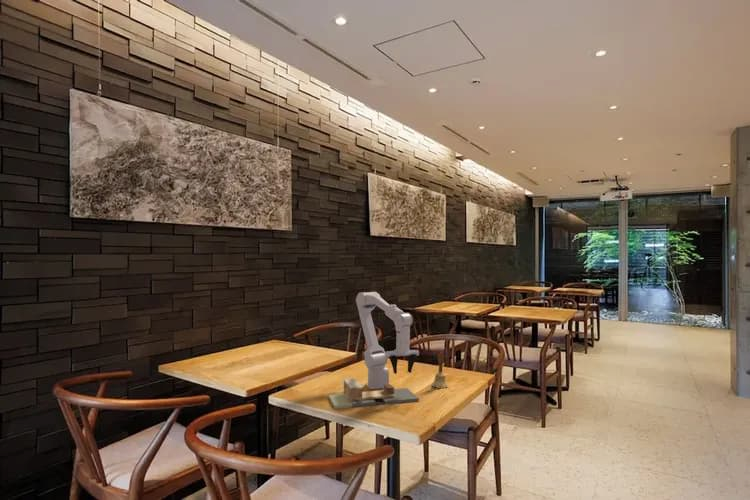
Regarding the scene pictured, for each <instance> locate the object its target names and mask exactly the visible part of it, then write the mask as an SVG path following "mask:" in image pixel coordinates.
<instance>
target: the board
mask: <svg viewBox="0 0 750 500" xmlns="http://www.w3.org/2000/svg"><path fill="white" fill-rule="evenodd" d="M381 390H382V389H375V391H381ZM363 392H368V391H366V390H365V391H364V390H363ZM394 395H395V397H389V398H377V399H365V400H362V403H360V402H359V400H354V401H353V403H350V401H349V400H348V399H347V398H346V396H345V395H344V392H343V393H342V392H340V393H329V394H327V396H328V397H327V398H328V400H329V402H330V403H331V405H332V406H333V408H334V409H335V410H338V409H347V408H350V409H351V408H358V407H368V406H369V407H370V406H380V405H381V406H382V405H383V406H384V405H391V404H393V405H394V404H402V403H403V404H405V403H413V402H419V401H420V399H419V397H418V396H417V395H416V394H415V393H413V392H412V391H411V390H410V389H409V388H407V387H405V388H404V387H403V388H394Z"/></svg>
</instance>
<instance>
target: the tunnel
mask: <svg viewBox="0 0 750 500" xmlns="http://www.w3.org/2000/svg"><path fill="white" fill-rule="evenodd" d="M346 385H347V386H348V387H349V388H350V403H353V389H359V402H360V403H362V392H363V391H364V390H363V386H362V385H361V383H360V382H359V381H358V380H357V379H356V378H347V379H346V378H345V379H343V393H344V395H345V393H346Z"/></svg>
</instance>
